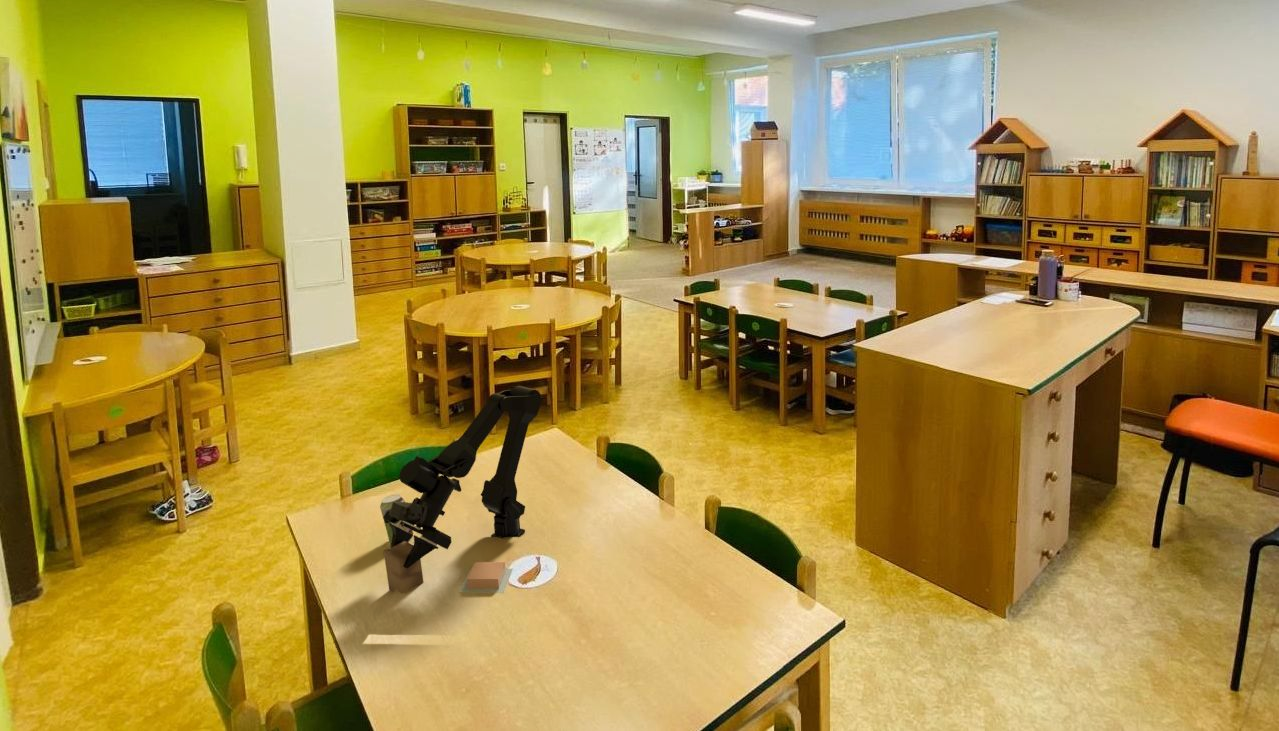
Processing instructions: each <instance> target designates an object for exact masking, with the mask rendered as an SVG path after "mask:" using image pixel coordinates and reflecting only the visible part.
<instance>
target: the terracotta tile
mask: <svg viewBox="0 0 1279 731" xmlns="http://www.w3.org/2000/svg"><path fill="white" fill-rule="evenodd" d="M471 569H472V570H471V572H470V574H469V573H468V574H469V576H468V575H467V576H468V578H467V577H466V578H467V582H468V589H499V588H500V585H501V583H502V580H503V578H504V575H505V572H506V569H507V568H506V562H505V561H501V562H500V561H494V562H493V561H486V562H485V561H482V562H481V561H479V562H478V561H475V562H474V564H473V566H472V568H471Z"/></svg>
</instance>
